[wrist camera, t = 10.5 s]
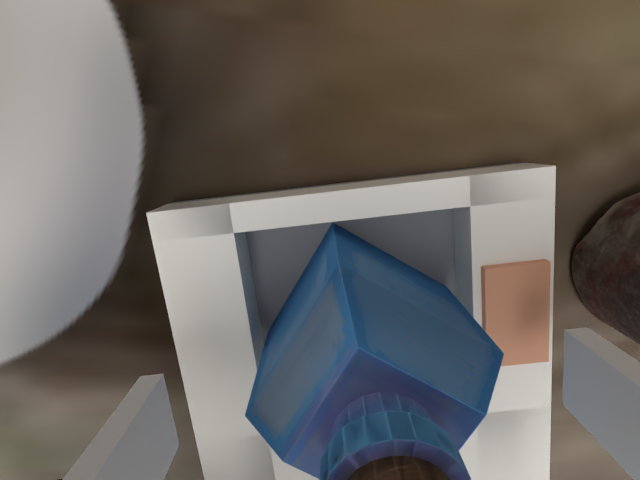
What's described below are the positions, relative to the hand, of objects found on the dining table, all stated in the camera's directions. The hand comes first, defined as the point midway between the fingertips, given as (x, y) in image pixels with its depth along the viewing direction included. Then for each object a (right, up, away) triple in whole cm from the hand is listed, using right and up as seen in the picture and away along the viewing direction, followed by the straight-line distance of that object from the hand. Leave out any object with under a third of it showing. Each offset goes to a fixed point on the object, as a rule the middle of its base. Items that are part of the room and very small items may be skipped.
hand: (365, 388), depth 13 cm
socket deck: (+1, -5, +8) cm, 10 cm away
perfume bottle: (0, +2, +6) cm, 6 cm away
